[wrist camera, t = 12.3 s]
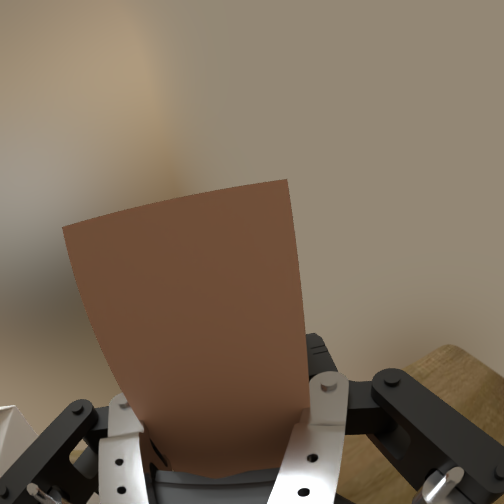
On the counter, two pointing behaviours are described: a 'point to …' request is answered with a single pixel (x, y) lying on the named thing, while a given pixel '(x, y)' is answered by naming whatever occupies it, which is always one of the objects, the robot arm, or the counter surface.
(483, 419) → the counter surface
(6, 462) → the milk
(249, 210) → the post
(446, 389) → the counter surface
